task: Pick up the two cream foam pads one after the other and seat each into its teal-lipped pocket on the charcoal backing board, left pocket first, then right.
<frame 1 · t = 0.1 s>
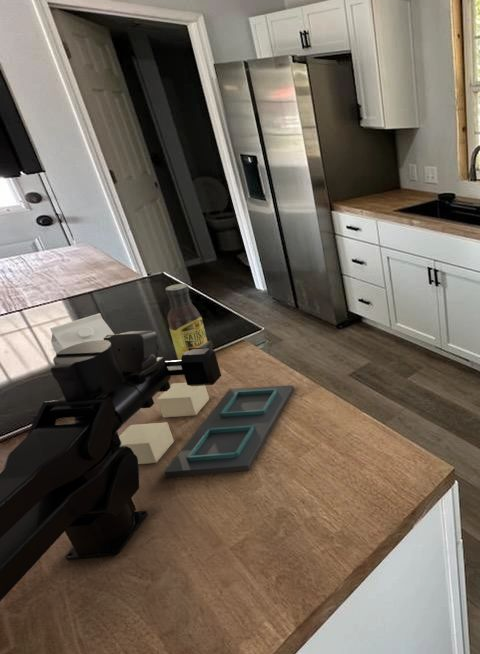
hand: (184, 344, 76), 17 cm above the worktop, tool horizontal, fingers open, 9 cm apart
pad b: (187, 408, 84), on the worktop
milk carton: (109, 401, 86), on the worktop
sauce bottle: (197, 363, 99), on the worktop
back board: (239, 427, 80), on the worktop
pad a: (147, 453, 73), on the worktop
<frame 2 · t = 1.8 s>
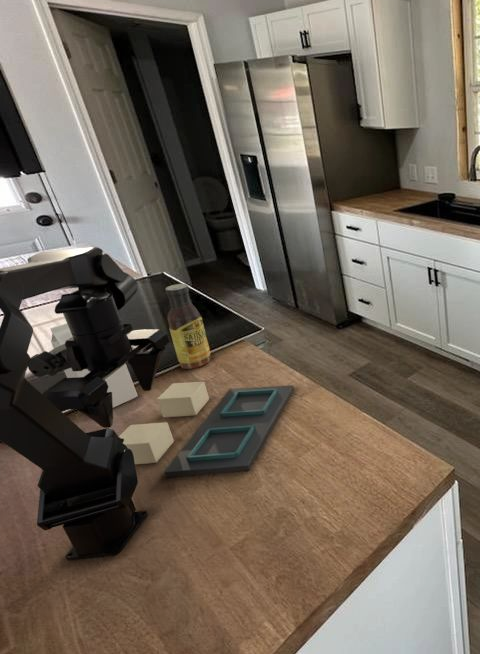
hand: (129, 407, 69), 10 cm above the worktop, tool pointing down, fingers open, 9 cm apart
nothing on the worktop moved.
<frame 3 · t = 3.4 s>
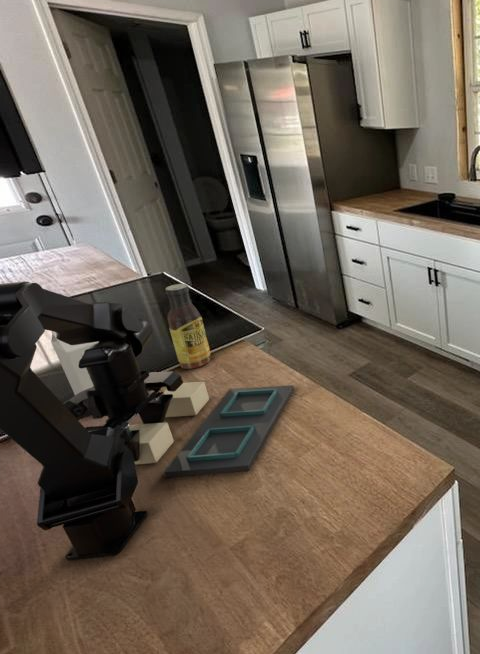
hand: (145, 448, 73), 1 cm above the worktop, tool pointing down, fingers closed on pad a, 5 cm apart
pad a: (147, 453, 73), on the worktop, touching gripper
everything else where it was.
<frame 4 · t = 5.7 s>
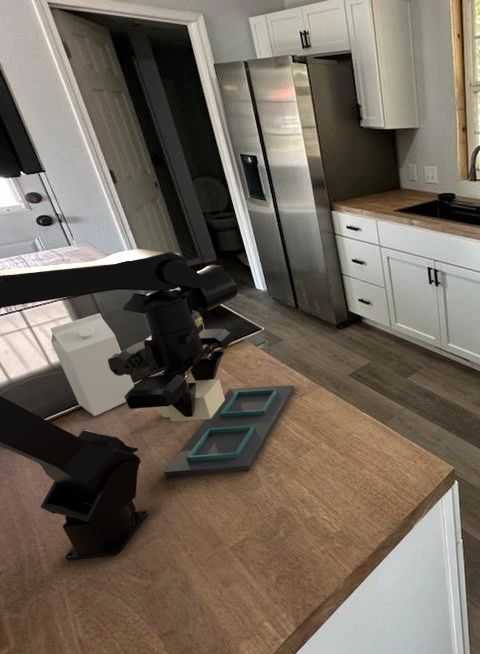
hand: (198, 405, 71), 10 cm above the worktop, tool pointing down, fingers closed on pad a, 5 cm apart
pad a: (199, 410, 71), point 9 cm above the worktop, touching gripper
everything else where it was.
when the fingers open (2 cm above the worktop, at t = 8.1 s): pad a stays where it is, resting on back board.
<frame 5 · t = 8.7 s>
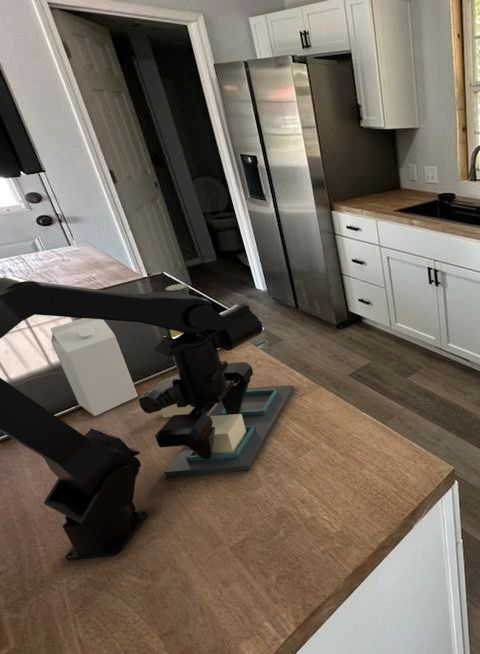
hand: (221, 438, 74), 3 cm above the worktop, tool pointing down, fingers open, 9 cm apart
pad a: (222, 444, 74), point 1 cm above the worktop, touching back board
everything else where it was.
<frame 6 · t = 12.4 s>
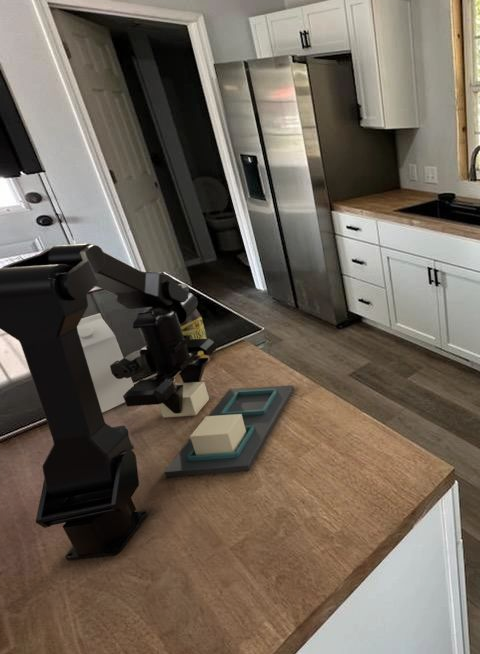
hand: (185, 404, 84), 1 cm above the worktop, tool pointing down, fingers closed on pad b, 5 cm apart
pad b: (187, 408, 84), on the worktop, touching gripper
everything else where it was.
when the fingers open (2 cm above the worktop, at t = 16.8 s): pad b stays where it is, resting on back board.
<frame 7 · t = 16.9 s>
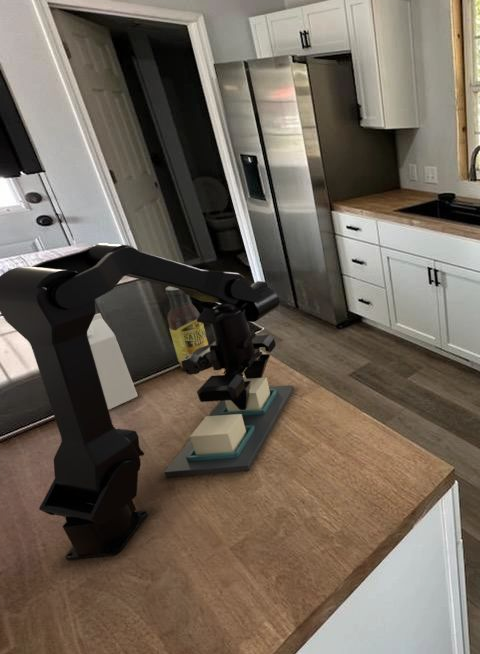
hand: (249, 400, 84), 2 cm above the worktop, tool pointing down, fingers open, 5 cm apart
pad b: (250, 403, 84), point 1 cm above the worktop, touching back board
everything else where it was.
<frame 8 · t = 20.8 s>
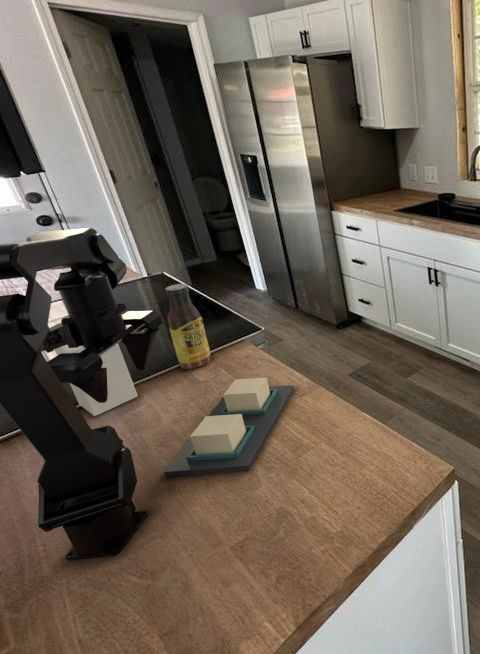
hand: (123, 384, 72), 12 cm above the worktop, tool pointing down, fingers open, 9 cm apart
nothing on the worktop moved.
at the end: pad a 0.1 cm from the target spot on the back board, point 1.2 cm above the back board's base; pad b 0.1 cm from the target spot on the back board, point 1.2 cm above the back board's base; pad b tilted 0° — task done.
